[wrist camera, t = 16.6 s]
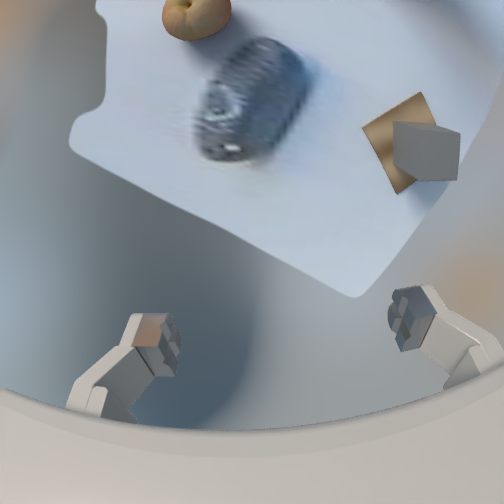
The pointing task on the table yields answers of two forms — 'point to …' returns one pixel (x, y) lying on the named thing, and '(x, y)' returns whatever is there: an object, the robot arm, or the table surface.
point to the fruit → (195, 18)
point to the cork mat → (383, 136)
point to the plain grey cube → (426, 150)
